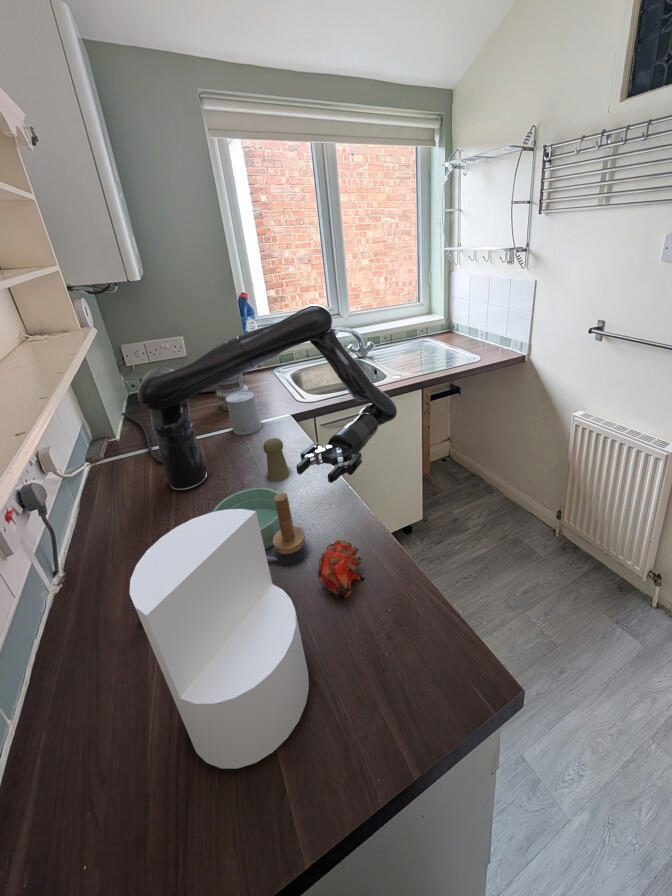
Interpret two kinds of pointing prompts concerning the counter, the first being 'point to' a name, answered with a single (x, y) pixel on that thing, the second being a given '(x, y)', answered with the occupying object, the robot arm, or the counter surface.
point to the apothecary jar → (230, 388)
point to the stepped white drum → (223, 636)
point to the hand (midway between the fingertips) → (313, 475)
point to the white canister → (243, 412)
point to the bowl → (256, 509)
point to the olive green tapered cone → (275, 460)
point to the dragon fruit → (339, 568)
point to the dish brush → (288, 535)
